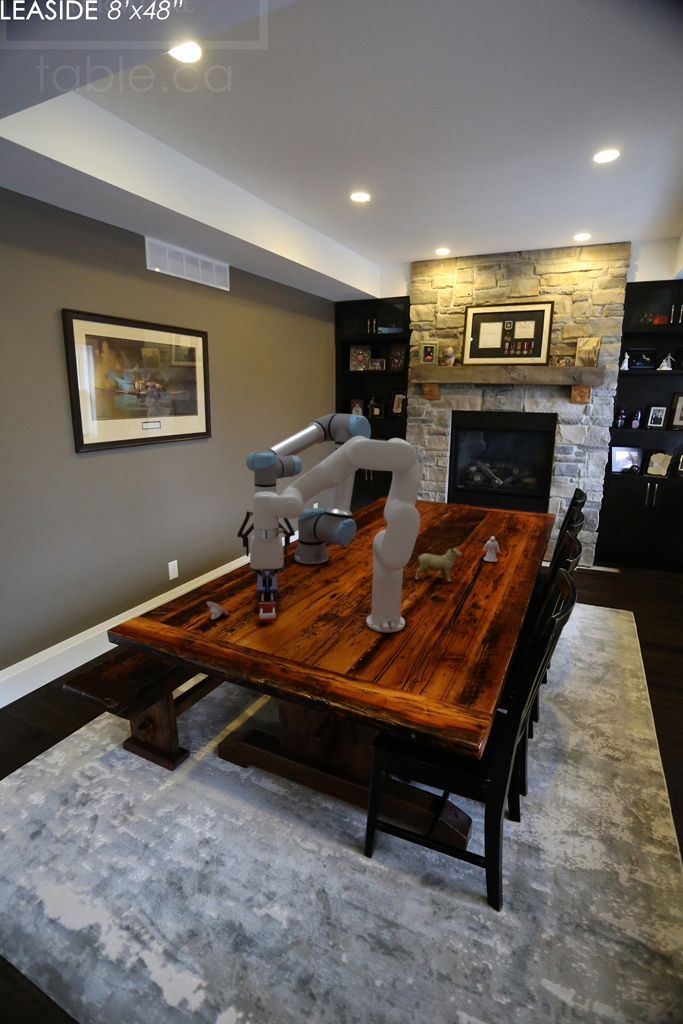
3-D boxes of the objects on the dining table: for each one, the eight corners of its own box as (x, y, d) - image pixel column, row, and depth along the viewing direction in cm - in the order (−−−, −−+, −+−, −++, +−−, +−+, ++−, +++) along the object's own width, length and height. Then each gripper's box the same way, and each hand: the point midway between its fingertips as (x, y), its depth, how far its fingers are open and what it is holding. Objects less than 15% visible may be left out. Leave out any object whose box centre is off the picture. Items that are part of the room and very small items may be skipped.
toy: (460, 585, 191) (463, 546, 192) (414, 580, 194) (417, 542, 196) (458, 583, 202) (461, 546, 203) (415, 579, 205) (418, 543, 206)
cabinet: (277, 611, 170) (277, 589, 168) (257, 612, 169) (257, 589, 167) (276, 590, 187) (276, 570, 185) (258, 591, 186) (257, 571, 184)
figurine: (481, 562, 222) (483, 536, 219) (482, 556, 230) (484, 531, 227) (499, 564, 220) (501, 538, 217) (499, 558, 228) (501, 533, 225)
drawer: (276, 629, 156) (276, 611, 154) (258, 630, 155) (258, 612, 153) (275, 599, 177) (275, 583, 176) (259, 600, 176) (259, 584, 175)
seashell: (213, 627, 166) (197, 609, 165) (224, 617, 169) (208, 599, 168) (221, 623, 159) (205, 604, 159) (233, 612, 163) (217, 594, 162)
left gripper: (300, 494, 180) (300, 550, 186) (230, 495, 177) (232, 552, 182) (302, 499, 173) (302, 557, 178) (228, 500, 170) (230, 559, 175)
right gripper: (290, 528, 156) (290, 583, 161) (241, 529, 154) (243, 585, 159) (291, 535, 149) (292, 592, 154) (240, 536, 147) (242, 594, 151)
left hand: (266, 554), depth 180 cm, fingers open, 13 cm apart
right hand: (267, 588), depth 156 cm, fingers closed
